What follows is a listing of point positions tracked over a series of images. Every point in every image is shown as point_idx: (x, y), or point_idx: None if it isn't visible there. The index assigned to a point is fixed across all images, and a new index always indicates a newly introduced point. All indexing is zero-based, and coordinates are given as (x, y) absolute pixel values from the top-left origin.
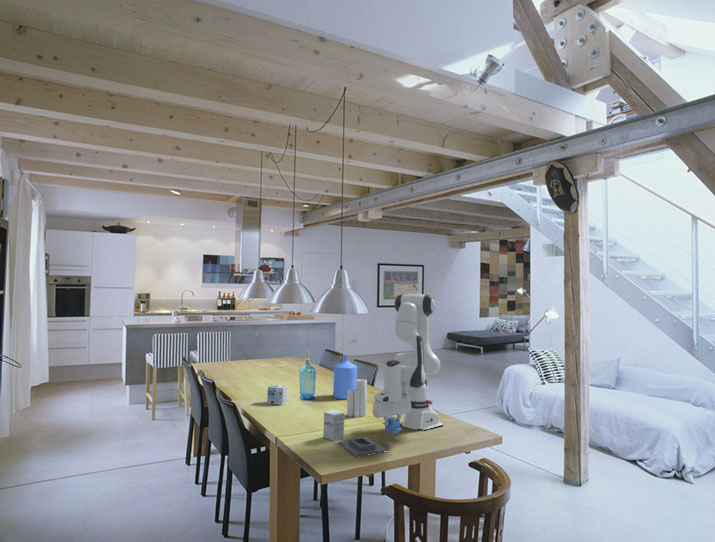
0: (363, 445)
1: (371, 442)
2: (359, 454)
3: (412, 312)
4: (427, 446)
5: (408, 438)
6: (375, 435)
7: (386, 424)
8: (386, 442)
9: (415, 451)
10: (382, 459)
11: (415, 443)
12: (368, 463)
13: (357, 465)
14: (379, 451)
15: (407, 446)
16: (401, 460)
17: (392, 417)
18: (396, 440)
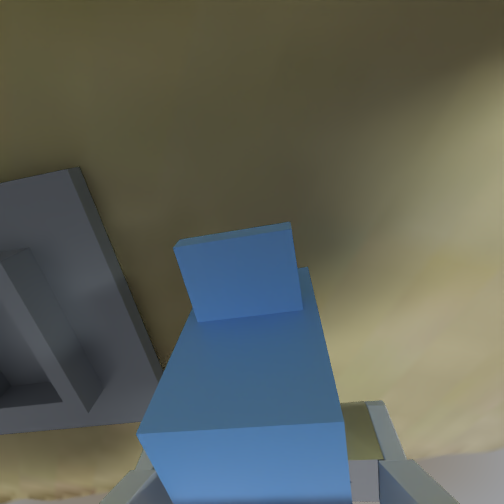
0: (3, 412)
1: (62, 382)
2: (4, 433)
3: None
4: (476, 392)
5: (465, 219)
6: (182, 46)
7: None
8: None
9: None
10: (130, 465)
11: (438, 332)
12: (58, 480)
13: (8, 483)
14: (124, 421)
15: (345, 364)
16: None
17: (300, 489)
18: (330, 242)
